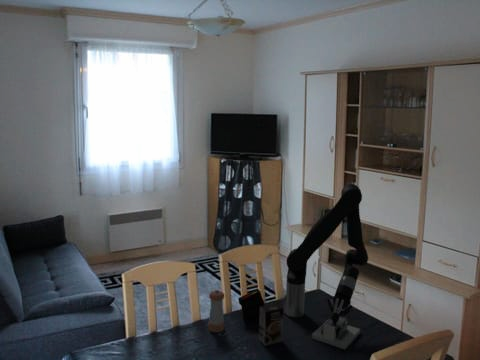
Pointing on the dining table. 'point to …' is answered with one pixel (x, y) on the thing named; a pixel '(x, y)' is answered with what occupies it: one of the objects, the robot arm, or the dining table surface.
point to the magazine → (251, 305)
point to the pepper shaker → (216, 311)
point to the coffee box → (271, 324)
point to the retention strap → (338, 324)
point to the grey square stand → (330, 335)
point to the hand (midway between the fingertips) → (334, 322)
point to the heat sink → (339, 331)
